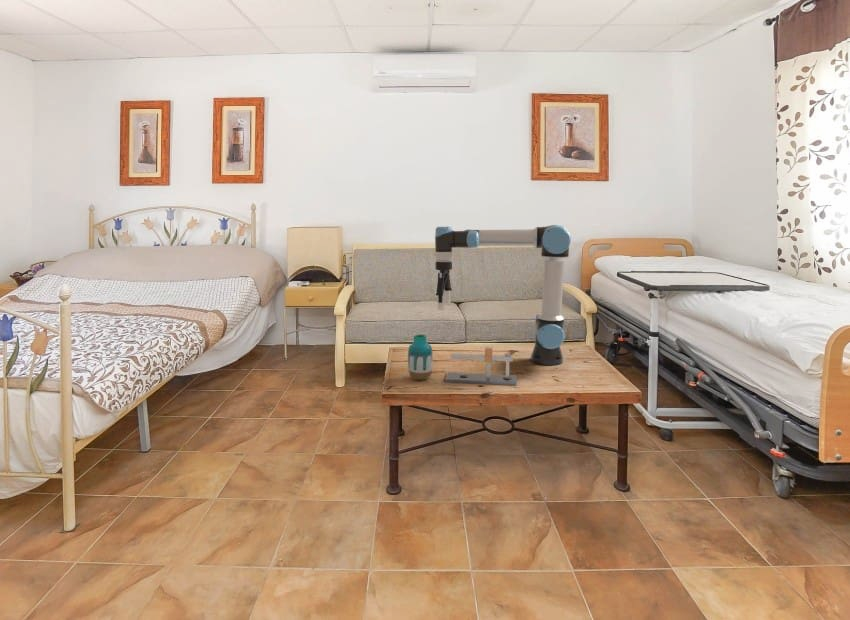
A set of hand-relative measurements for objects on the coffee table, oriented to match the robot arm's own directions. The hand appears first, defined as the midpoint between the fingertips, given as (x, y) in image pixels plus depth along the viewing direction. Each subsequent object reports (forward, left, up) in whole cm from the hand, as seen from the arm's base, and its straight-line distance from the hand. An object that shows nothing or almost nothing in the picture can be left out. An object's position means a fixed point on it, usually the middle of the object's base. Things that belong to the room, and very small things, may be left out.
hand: (444, 307), depth 243 cm
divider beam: (-19, +20, -26) cm, 38 cm away
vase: (+7, +22, -28) cm, 36 cm away
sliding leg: (-22, +20, -26) cm, 39 cm away
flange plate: (-19, +20, -28) cm, 39 cm away
